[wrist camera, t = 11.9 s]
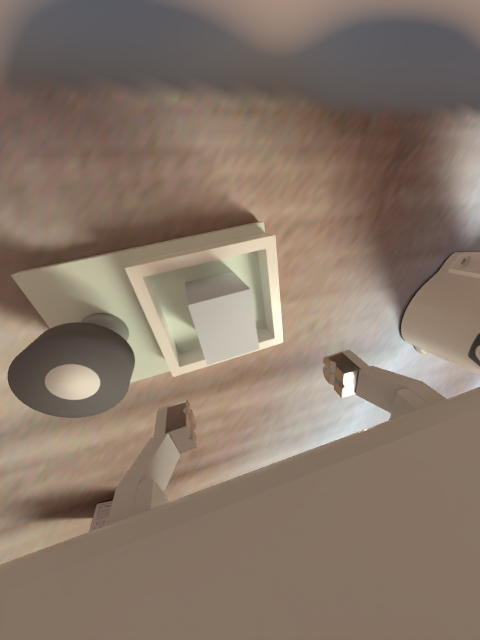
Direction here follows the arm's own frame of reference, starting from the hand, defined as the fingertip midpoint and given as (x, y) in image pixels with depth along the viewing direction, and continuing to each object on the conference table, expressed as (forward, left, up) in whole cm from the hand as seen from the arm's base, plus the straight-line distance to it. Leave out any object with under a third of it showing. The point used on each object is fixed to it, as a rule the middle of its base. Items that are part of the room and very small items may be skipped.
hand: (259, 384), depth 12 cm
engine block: (0, 0, -13) cm, 13 cm away
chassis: (+5, 0, -14) cm, 15 cm away
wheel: (+12, 0, -8) cm, 14 cm away
